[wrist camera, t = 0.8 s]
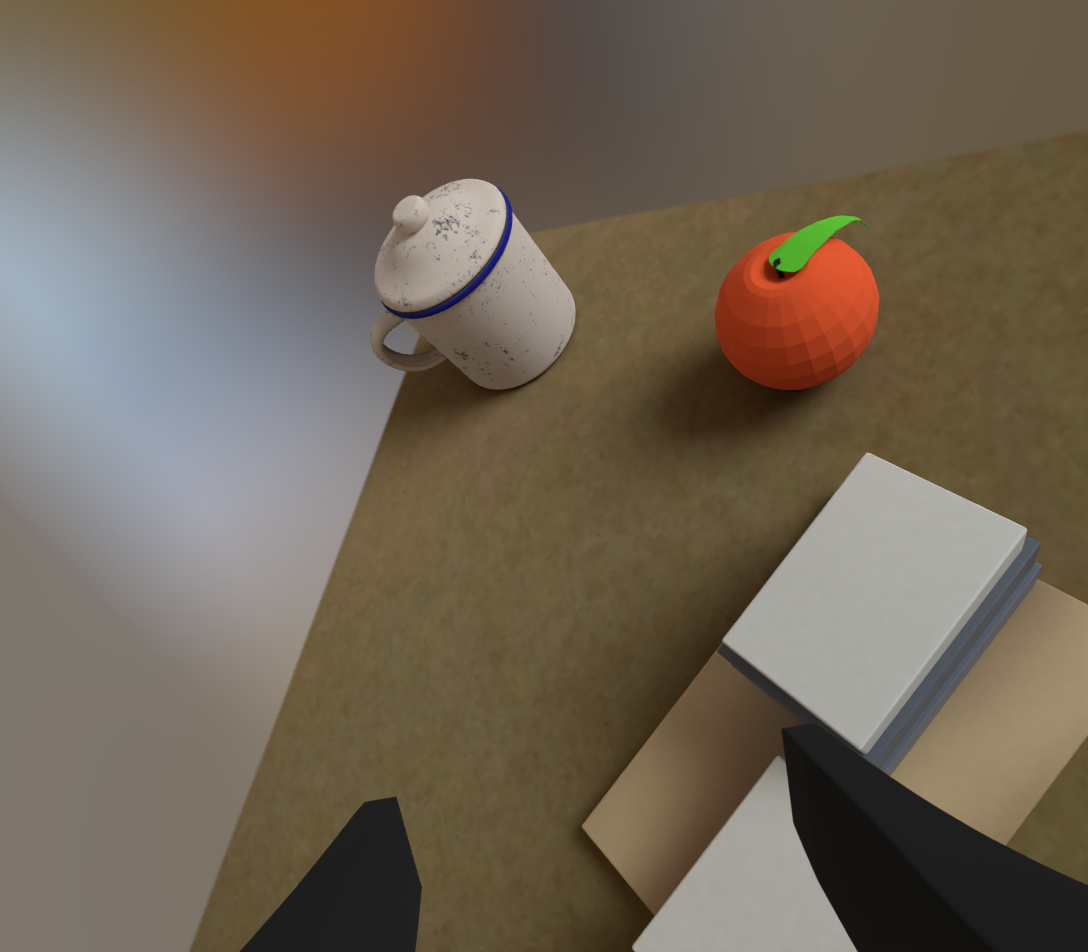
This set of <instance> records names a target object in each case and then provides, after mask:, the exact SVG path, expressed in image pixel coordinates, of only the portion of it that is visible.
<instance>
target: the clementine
mask: <svg viewBox="0 0 1088 952" xmlns="http://www.w3.org/2000/svg"><path fill="white" fill-rule="evenodd" d="M852 221H860V222H861V223H863V224H864V225H866V226H867V227H868V225H867V224H866V223H865V222H864V221H863V220H861V219H859V218H857V217H852V216H843V215H840V216H836V217H832V218H828V219H825V220H822V221H818V222H816V223H814V224H812V225H810V226H808V227H806V228H804V229H802V230H800V231H799V232H793V233H786V234H782V235H779V236H776V237H773V238H770V239H768V240H766V241H764V242H762V243H760V244H758V245H756V246H755V247H753V248H752V249H751V250H750V251H748V252H747V253H746V254H745V255H743V256H742V258H741V259H740V260H739V261H738V262H737V263H736V265H735V266H734V267H733V268H732V270H731V271H730V272H729V273H728V275H727V276H726V278H725V280H724V282H723V284H722V286H721V288H720V291H719V296H718V301H717V305H716V311H715V325H716V332H717V336H718V341H719V343H720V346H721V348H722V350H723V352H724V354H725V356H726V357H727V358H728V360H729V361H730V362H731V363H732V365H733V366H734V367H735V368H736V369H737V370H738V371H739V372H740V373H741V374H742V375H743V376H745V377H747V378H749V379H751V380H753V381H755V382H757V383H759V384H761V385H764V386H766V387H771V388H776V389H780V390H801V389H805V388H810V387H814V386H818V385H821V384H823V383H825V382H827V381H829V380H831V379H834V378H836V377H837V376H838V375H840V374H841V373H843V372H844V371H845V370H847V369H848V368H849V367H851V366H852V364H853V363H854V362H855V361H856V360H857V358H858V357H859V356H860V355H861V354H862V352H863V351H864V350H865V348H866V347H867V345H868V344H869V341H870V339H871V337H872V335H873V333H874V331H875V329H876V323H877V315H878V306H879V294H878V290H877V286H876V282H875V279H874V277H873V274H872V272H871V269H870V268H869V266H868V265H867V263H866V262H865V261H864V259H863V258H862V256H861V255H859V254H858V253H857V252H856V251H855V250H854V249H852V248H851V247H850V246H848V245H847V244H845V243H844V242H842V241H841V240H840V239H837V238H834V237H831V236H832V235H833V234H834V233H835V232H836V231H837V230H839V229H840V228H842V227H843V226H845V225H847V224H848V223H850V222H852Z"/></svg>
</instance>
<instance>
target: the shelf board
mask: <svg viewBox="0 0 1088 952" xmlns="http://www.w3.org/2000/svg"><path fill="white" fill-rule="evenodd" d="M722 644H723V642H722V643H721V645H722ZM721 645H720V646H721ZM720 646H719V647H718V649H719V648H720ZM718 649H717V650H716V651H715V653H714V654H713V655H712V656H711V658H710V659H709V660H708V662H707V663H706V664H705V666H704V667H703V668H702V670H701V671H700V672H699V673H698V675H697V676H696V677H695V679H694V680H693V681H692V683H691V684H690V685H689V686H688V688H687V689H686V690H685V692H684V693H683V694H682V696H681V697H680V698H679V699H678V701H677V702H676V703H675V705H674V706H673V707H672V709H671V710H670V711H669V712H668V714H667V715H666V716H665V718H664V719H663V720H662V722H661V723H660V724H659V725H658V727H657V728H656V729H655V731H654V732H653V733H652V735H651V736H650V737H649V739H648V740H647V741H646V742H645V744H644V745H643V746H642V748H641V749H640V750H639V752H638V753H637V754H636V755H635V757H634V758H633V759H632V761H631V762H630V763H629V765H628V766H627V767H626V768H625V770H624V771H623V772H622V774H621V775H620V776H619V778H618V779H617V780H616V781H615V783H614V784H613V785H612V787H611V788H610V789H609V791H608V792H607V793H606V794H605V796H604V797H603V798H602V800H601V801H600V802H599V804H598V805H597V806H596V808H595V809H594V810H593V811H592V813H591V814H590V815H589V817H588V818H587V819H586V821H585V822H584V823H583V824H582V828H583V829H584V831H585V832H586V833H587V834H588V835H589V837H590V838H591V839H592V840H593V842H594V843H595V844H596V845H597V846H598V848H599V849H600V850H601V851H602V853H603V854H604V855H605V856H606V857H607V859H608V860H609V861H610V862H611V864H612V865H613V866H614V867H615V868H616V870H617V871H618V872H619V873H620V875H621V876H622V877H623V878H624V879H625V881H626V882H627V883H628V884H629V886H630V887H631V888H632V889H633V890H634V892H635V893H636V894H637V895H638V897H639V898H640V899H641V900H642V901H643V903H644V904H645V905H646V906H647V907H648V909H649V910H650V911H651V912H652V914H653V915H654V916H655V915H656V914H657V912H658V911H659V910H660V908H661V907H662V906H663V904H664V903H665V902H666V900H667V899H668V898H669V896H670V895H671V894H672V893H673V891H674V890H675V889H676V887H677V886H678V885H679V883H680V882H681V881H682V879H683V878H684V877H685V875H686V874H687V873H688V872H689V870H690V869H691V868H692V866H693V865H694V864H695V862H696V861H697V860H698V858H699V857H700V856H701V854H702V853H703V852H704V851H705V849H706V848H707V847H708V845H709V844H710V843H711V841H712V840H713V839H714V837H715V836H716V835H717V833H718V832H719V831H720V829H721V828H722V827H723V826H724V824H725V823H726V822H727V820H728V819H729V818H730V816H731V815H732V814H733V812H734V811H735V810H736V808H737V807H738V806H739V805H740V803H741V802H742V801H743V799H744V798H745V797H746V795H747V794H748V793H749V791H750V790H751V789H752V787H753V786H754V785H755V784H756V782H757V781H758V780H759V778H760V777H761V776H762V774H763V773H764V772H765V770H766V769H767V768H768V766H769V765H770V764H771V763H772V761H773V760H774V759H775V757H776V756H781V757H784V758H785V754H784V746H783V738H782V730H781V728H787V727H793V726H798V725H804V724H803V723H802V722H801V721H799V720H798V719H797V718H796V717H795V716H793V715H792V714H791V713H790V712H788V711H787V710H786V709H785V708H783V707H782V706H781V705H780V704H778V703H777V702H776V701H775V700H774V699H772V698H771V697H770V696H769V695H767V694H766V693H765V692H764V691H762V690H761V689H760V688H759V687H757V686H756V685H755V684H754V683H753V682H751V681H750V680H749V679H748V678H746V677H745V676H744V675H743V674H741V673H740V672H739V671H738V670H736V669H735V668H734V667H733V666H732V665H731V663H730V662H729V661H727V660H726V659H725V658H724V657H722V656H721V655H720V654H719V653H718V652H717V651H718ZM1087 736H1088V605H1087V604H1085V603H1083V602H1081V601H1079V600H1077V599H1075V598H1073V597H1071V596H1069V595H1068V594H1066V593H1064V592H1062V591H1060V590H1058V589H1056V588H1054V587H1052V586H1050V585H1048V584H1046V583H1044V582H1042V581H1040V580H1038V579H1037V581H1036V584H1035V585H1034V587H1033V588H1032V589H1031V591H1030V592H1029V593H1028V595H1027V596H1026V597H1025V599H1024V600H1023V601H1022V603H1021V604H1020V605H1019V607H1018V608H1017V609H1016V611H1015V612H1014V613H1013V615H1012V616H1011V617H1010V619H1009V620H1008V621H1007V623H1006V624H1005V625H1004V626H1003V628H1002V629H1001V630H1000V632H999V633H998V634H997V636H996V637H995V638H994V640H993V641H992V642H991V644H990V645H989V646H988V648H987V649H986V650H985V652H984V653H983V654H982V656H981V657H980V658H979V660H978V661H977V662H976V664H975V665H974V666H973V668H972V669H971V670H970V672H969V673H968V674H967V675H966V677H965V678H964V679H963V681H962V682H961V683H960V685H959V686H958V687H957V689H956V690H955V691H954V693H953V694H952V695H951V697H950V698H949V699H948V701H947V702H946V703H945V705H944V706H943V707H942V709H941V710H940V711H939V713H938V714H937V715H936V717H935V718H934V719H933V720H932V722H931V723H930V724H929V726H928V727H927V728H926V730H925V731H924V732H923V734H922V735H921V736H920V738H919V739H918V740H917V742H916V743H915V744H914V746H913V747H912V748H911V750H910V751H909V752H908V754H907V755H906V756H905V758H904V759H903V760H902V762H901V763H900V764H899V766H898V767H897V768H896V769H895V771H894V772H893V773H892V775H891V776H890V777H892V778H893V779H895V780H896V781H898V782H899V783H901V784H902V785H904V786H905V787H907V788H908V789H910V790H911V791H913V792H914V793H916V794H917V795H919V796H921V797H922V798H924V799H925V800H927V801H928V802H930V803H932V804H933V805H935V806H937V807H938V808H940V809H942V810H943V811H945V812H947V813H948V814H950V815H952V816H953V817H955V818H957V819H958V820H960V821H962V822H963V823H965V824H967V825H968V826H970V827H972V828H974V829H975V830H977V831H979V832H981V833H983V834H984V835H986V836H988V837H990V838H992V839H993V840H995V841H997V842H999V843H1001V844H1003V845H1005V846H1006V845H1007V843H1008V842H1009V841H1010V839H1011V838H1012V837H1013V835H1014V834H1015V833H1016V831H1017V830H1018V829H1019V827H1020V826H1021V825H1022V823H1023V822H1024V821H1025V819H1026V818H1027V817H1028V815H1029V814H1030V813H1031V811H1032V810H1033V809H1034V807H1035V806H1036V805H1037V803H1038V802H1039V800H1040V799H1041V798H1042V796H1043V795H1044V794H1045V792H1046V791H1047V790H1048V788H1049V787H1050V786H1051V784H1052V783H1053V782H1054V780H1055V779H1056V778H1057V776H1058V775H1059V774H1060V772H1061V771H1062V770H1063V768H1064V767H1065V766H1066V764H1067V763H1068V762H1069V760H1070V759H1071V758H1072V756H1073V755H1074V754H1075V752H1076V751H1077V750H1078V748H1079V747H1080V746H1081V744H1082V743H1083V742H1084V740H1085V739H1086V738H1087Z"/></svg>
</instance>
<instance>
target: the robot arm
mask: <svg viewBox="0 0 1088 952" xmlns="http://www.w3.org/2000/svg"><path fill="white" fill-rule="evenodd" d="M781 730H782V738H783V746H784V754H785V762H786V770H787V778H788V786H789V794H790V802H791V810H792V818H793V824H794V827H795V829H796V831H797V834H798V836H799V839H800V841H801V843H802V846H803V848H804V851H805V853H806V855H807V858H808V860H809V862H810V864H811V867H812V869H813V871H814V873H815V876H816V878H817V880H818V882H819V884H820V886H821V888H822V889H823V891H824V893H825V895H826V897H827V899H828V900H829V902H830V904H831V906H832V907H833V909H834V911H835V913H836V915H837V916H838V918H839V920H840V922H841V924H842V925H843V927H844V929H845V931H846V933H847V934H848V936H849V938H850V940H851V941H852V943H853V945H854V947H855V948H856V950H857V952H1088V885H1086V884H1084V883H1081V882H1079V881H1077V880H1075V879H1072V878H1070V877H1068V876H1066V875H1063V874H1061V873H1059V872H1057V871H1055V870H1053V869H1051V868H1049V867H1047V866H1044V865H1042V864H1040V863H1038V862H1036V861H1034V860H1032V859H1030V858H1028V857H1026V856H1025V855H1023V854H1021V853H1019V852H1017V851H1015V850H1013V849H1011V848H1009V847H1007V846H1005V845H1003V844H1001V843H999V842H997V841H995V840H993V839H992V838H990V837H988V836H986V835H984V834H983V833H981V832H979V831H977V830H975V829H974V828H972V827H970V826H968V825H967V824H965V823H963V822H962V821H960V820H958V819H957V818H955V817H953V816H952V815H950V814H948V813H947V812H945V811H943V810H942V809H940V808H938V807H937V806H935V805H933V804H932V803H930V802H928V801H927V800H925V799H924V798H922V797H921V796H919V795H917V794H916V793H914V792H913V791H911V790H910V789H908V788H907V787H905V786H904V785H902V784H901V783H899V782H898V781H896V780H895V779H893V778H892V777H890V776H889V775H887V774H886V773H884V772H883V771H882V770H880V769H879V768H877V767H876V766H874V765H873V764H872V763H870V762H869V761H867V760H866V759H865V758H863V757H862V756H860V755H859V754H858V753H856V752H855V751H853V750H852V749H851V748H849V747H848V746H846V745H845V744H844V743H842V742H841V741H840V740H838V739H837V738H835V737H834V736H833V735H831V734H830V733H828V732H827V731H826V730H824V729H823V728H821V727H820V726H819V725H817V724H816V723H810V724H804V725H798V726H793V727H787V728H781ZM421 889H422V887H421V883H420V880H419V876H418V873H417V869H416V865H415V862H414V858H413V855H412V851H411V847H410V844H409V840H408V837H407V833H406V830H405V826H404V822H403V819H402V815H401V812H400V808H399V804H398V801H397V797H391V798H385V799H380V800H374V801H368V802H364V803H363V805H362V806H361V807H360V808H359V809H358V810H357V812H356V813H355V814H354V815H353V817H352V818H351V819H350V820H349V822H348V823H347V824H346V825H345V827H344V828H343V829H342V831H341V832H340V833H339V834H338V836H337V837H336V838H335V839H334V841H333V842H332V843H331V845H330V846H329V847H328V848H327V850H326V851H325V852H324V853H323V855H322V856H321V857H320V858H319V860H318V861H317V862H316V863H315V865H314V866H313V867H312V868H311V870H310V871H309V872H308V873H307V874H306V876H305V877H304V878H303V879H302V881H301V882H300V883H299V884H298V886H297V887H296V888H295V889H294V890H293V892H292V893H291V894H290V895H289V896H288V898H287V899H286V900H285V901H284V902H283V903H282V904H281V905H280V907H279V908H278V909H277V910H276V911H275V912H274V913H273V915H272V916H271V917H270V918H269V919H268V920H267V921H266V923H265V924H264V925H263V926H262V927H261V928H260V929H259V931H258V932H257V933H256V934H255V935H254V936H253V937H252V939H251V940H250V941H249V942H248V943H247V944H246V945H245V946H244V947H243V948H242V949H241V951H240V952H415V948H416V939H417V931H418V922H419V911H420V900H421Z"/></svg>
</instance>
